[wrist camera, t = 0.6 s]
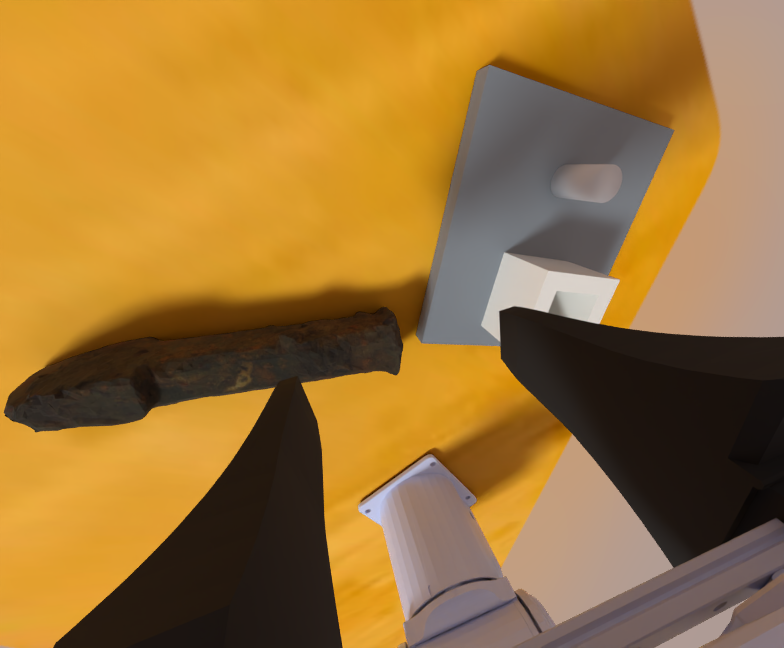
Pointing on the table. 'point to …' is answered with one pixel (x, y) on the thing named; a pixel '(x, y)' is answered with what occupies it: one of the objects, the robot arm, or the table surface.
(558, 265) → the hollow square block
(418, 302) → the table surface
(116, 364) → the hand tool
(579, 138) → the plate
